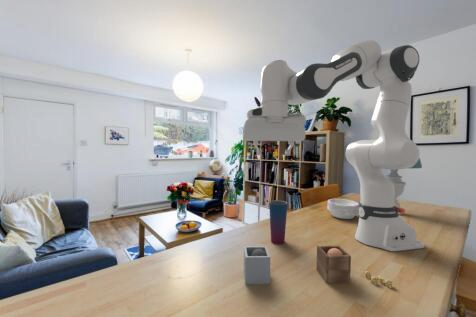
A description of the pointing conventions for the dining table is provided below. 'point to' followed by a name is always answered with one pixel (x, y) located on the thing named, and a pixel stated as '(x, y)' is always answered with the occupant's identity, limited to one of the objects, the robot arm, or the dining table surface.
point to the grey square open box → (256, 266)
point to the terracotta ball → (334, 252)
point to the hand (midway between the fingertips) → (273, 155)
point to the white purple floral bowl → (343, 208)
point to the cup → (278, 221)
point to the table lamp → (399, 182)
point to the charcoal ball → (258, 252)
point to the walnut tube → (333, 265)
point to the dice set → (380, 280)
